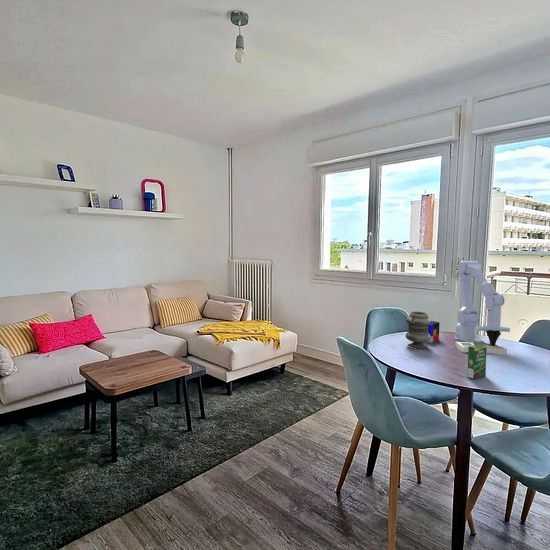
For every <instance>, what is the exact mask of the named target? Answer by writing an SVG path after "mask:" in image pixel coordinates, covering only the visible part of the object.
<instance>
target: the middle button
mask: <svg viewBox="0 0 550 550" xmlns="http://www.w3.org/2000/svg"><path fill="white" fill-rule="evenodd" d="M473 343H474V345H476V344H480V343H482V344H485V345H486V343H487V342H485V341H484V340H479V341H474V342H473Z"/></svg>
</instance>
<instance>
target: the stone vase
mask: <svg viewBox="0 0 550 550" xmlns="http://www.w3.org/2000/svg"><path fill="white" fill-rule="evenodd" d="M431 321H432V320H431V318H429V316H428V312H424V311H419V310H418V311H415V310H414V311H411V312H410V313H409V315H408V316H407V318H406V322H407V323H408V329H407V330H408V331H406V333H405V338H406V340H408V341H409V342H411V343H408V344H407V345H408V346H410V347H412V348H416V349H415V350H422V349H424V350H427V349H428V346H427V345H425V344H424V343H428V341H429V340H430V338H431V336H430V334H429V333H428V325H429V324H430V323H431ZM408 346H407V347H408ZM412 348H411V349H412Z"/></svg>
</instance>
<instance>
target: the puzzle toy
mask: <svg viewBox="0 0 550 550" xmlns="http://www.w3.org/2000/svg"><path fill="white" fill-rule="evenodd" d="M428 333H429V334H430V336H431V338H430V340H429V341H428V342H431V343H434V342H436V341H435V340H437V341H439V340H440V321H433V320H431V323H430V324H429V325H428ZM438 339H439V340H438ZM433 341H434V342H433ZM428 342H427V343H428Z"/></svg>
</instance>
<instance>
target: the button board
mask: <svg viewBox="0 0 550 550" xmlns="http://www.w3.org/2000/svg"><path fill="white" fill-rule="evenodd" d="M461 343H470V344H471V345H462V344H461ZM485 343H486V344H490V342H485ZM472 345H474V342H465V341H455V347H456V348H457V349H458V351H460V352H462V353H467V352H468V347H469V346H472ZM496 345H497V346H488V345H487V351H486V354H490V353H494V355H497V354H498V355H508V348H507V347H504V346H503V345H502V344H499V343H497V342H496ZM498 346H499V347H498Z"/></svg>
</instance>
